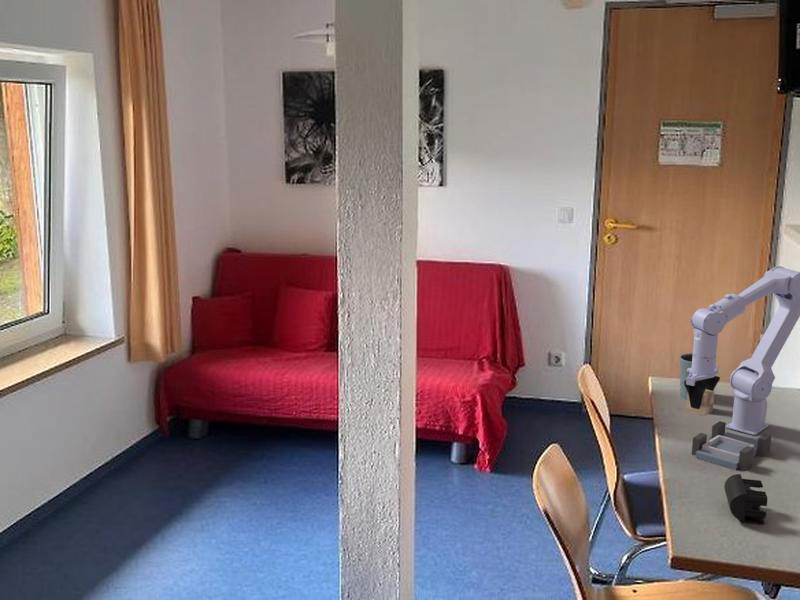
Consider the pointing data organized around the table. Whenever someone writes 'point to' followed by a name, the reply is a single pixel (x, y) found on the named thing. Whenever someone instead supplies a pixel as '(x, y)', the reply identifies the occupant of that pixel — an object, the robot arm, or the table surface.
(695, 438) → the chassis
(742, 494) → the end cap
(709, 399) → the block
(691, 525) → the table surface
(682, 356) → the grey-green cup
